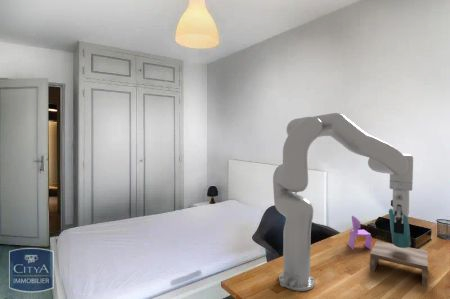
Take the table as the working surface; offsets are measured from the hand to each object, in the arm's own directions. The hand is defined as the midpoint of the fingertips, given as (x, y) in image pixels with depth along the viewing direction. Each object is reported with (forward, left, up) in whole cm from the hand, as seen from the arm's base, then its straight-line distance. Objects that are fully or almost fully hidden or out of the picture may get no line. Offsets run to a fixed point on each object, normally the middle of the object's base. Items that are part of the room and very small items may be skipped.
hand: (399, 230), depth 105 cm
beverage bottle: (+2, -1, -7) cm, 8 cm away
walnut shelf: (0, 0, -16) cm, 16 cm away
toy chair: (+15, +17, -16) cm, 28 cm away
